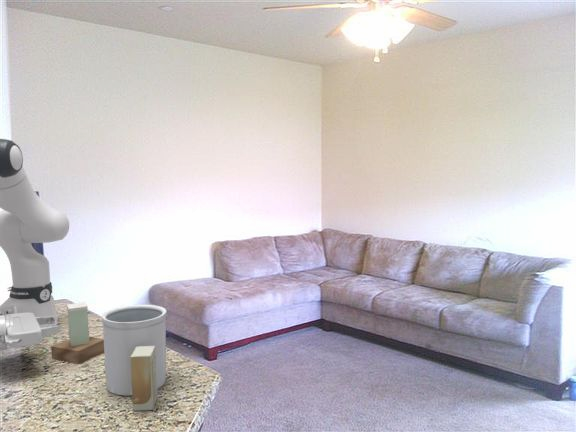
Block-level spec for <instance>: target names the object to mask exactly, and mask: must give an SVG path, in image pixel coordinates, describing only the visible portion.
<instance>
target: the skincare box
mask: <svg viewBox="0 0 576 432" xmlns="http://www.w3.org/2000/svg"><path fill="white" fill-rule="evenodd" d="M130 358H131V379H132V395H131V396H132V397H131V398H132V399H131V400H132V411H133V412H138V411H152V410H154V407H155V406H156V402H157V401H158V389H157V376H156V352H155V346H139V347H136V348H135V349H134V351H133V353H132V355H131V357H130Z"/></svg>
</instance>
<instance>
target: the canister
mask: <svg viewBox="0 0 576 432" xmlns="http://www.w3.org/2000/svg"><path fill="white" fill-rule="evenodd" d="M66 308H67V321H68V322H67V323H68V335H69V339H70V343H71V346H77V345H83V344H88V343H89V337H90V332H89V331H90V329H89V315H88V309H89V307H88V305H87V302H86V301H82V302H76V303H75V302H74V303H68V304H66Z"/></svg>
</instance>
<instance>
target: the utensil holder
mask: <svg viewBox="0 0 576 432" xmlns="http://www.w3.org/2000/svg"><path fill="white" fill-rule="evenodd" d="M167 312H168V311H167V309H166V308H165V307H163V306H161V305H160V306H159V305H154V304H130V305H123V306H118V307H115V308H111V309H109V310H107V311H104V312H103V313H102V314H101V322H102V328H103V329H102V330H103V332H102V333H103V339H104V353H103V355H104V373H105V384H106V390H107V391H109V393H112V394H114V395H118V396H132V379H131V358H130V357H131V355H132V353H133V351H134V349H135V348H136V347H139V346H155V352H156V376H157V390H158V389H159V388H161V387H163V386H164V384H165V383H166V379H167V377H166V376H167V341H166V339H167V333H166V331H167V330H166V329H167V328H166V326H167V325H166V323H167V322H166V318H167V314H168V313H167Z"/></svg>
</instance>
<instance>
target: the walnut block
mask: <svg viewBox="0 0 576 432" xmlns="http://www.w3.org/2000/svg"><path fill="white" fill-rule="evenodd" d="M50 348H51V350H50V351H51V359H52V360H55V361H61V362H65V363H71V364H72V363H73V364H75V365H80V364H83V363H85V362H87V361H89V360H91V359H94V358H96V357H98V356H100V355H102V354H104V338H101V337H94V336H89V343H88V344H83V345H77V346H71V343H70V338H69V339H67V340H64V341H61V342H58V343H57V344H54V345H51V346H50Z"/></svg>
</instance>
